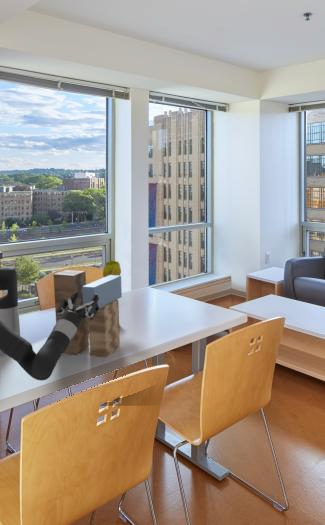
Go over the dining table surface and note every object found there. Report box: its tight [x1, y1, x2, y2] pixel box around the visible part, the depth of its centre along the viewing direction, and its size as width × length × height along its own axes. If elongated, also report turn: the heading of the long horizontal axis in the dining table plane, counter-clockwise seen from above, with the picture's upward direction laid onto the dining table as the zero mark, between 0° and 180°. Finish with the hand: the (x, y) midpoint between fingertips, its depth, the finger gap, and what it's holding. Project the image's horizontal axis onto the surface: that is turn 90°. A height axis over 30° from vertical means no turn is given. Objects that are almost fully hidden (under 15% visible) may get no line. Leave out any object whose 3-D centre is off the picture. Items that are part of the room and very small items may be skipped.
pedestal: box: [52, 269, 90, 356], centre depth 188 cm, size 9×9×32 cm
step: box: [88, 299, 121, 358], centre depth 187 cm, size 12×7×20 cm, turn 158°
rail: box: [82, 275, 123, 310], centre depth 185 cm, size 22×5×9 cm, turn 158°
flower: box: [102, 260, 122, 278], centre depth 223 cm, size 9×8×30 cm
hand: (86, 294), depth 172 cm, fingers open, 8 cm apart
